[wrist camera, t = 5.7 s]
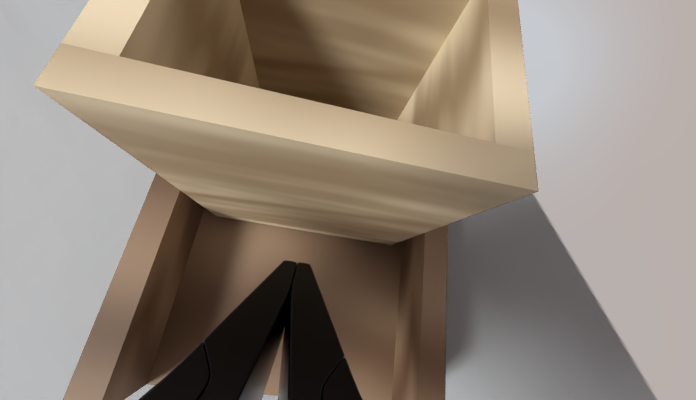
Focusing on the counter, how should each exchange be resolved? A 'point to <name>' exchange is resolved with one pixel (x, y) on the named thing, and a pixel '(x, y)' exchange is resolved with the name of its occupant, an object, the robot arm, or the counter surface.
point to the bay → (243, 278)
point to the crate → (311, 106)
